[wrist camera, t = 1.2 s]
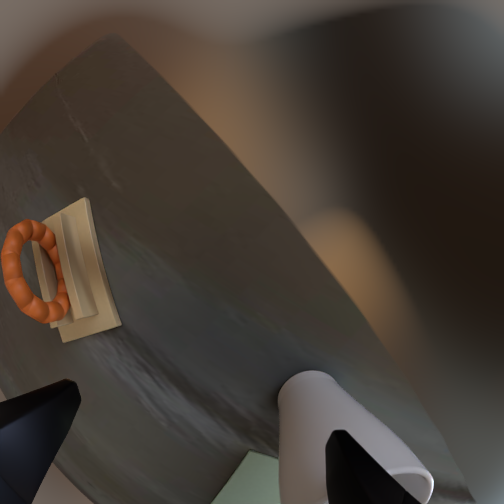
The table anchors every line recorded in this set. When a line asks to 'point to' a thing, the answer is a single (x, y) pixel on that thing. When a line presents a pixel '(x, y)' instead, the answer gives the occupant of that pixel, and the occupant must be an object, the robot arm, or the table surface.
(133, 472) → the table surface
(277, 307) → the table surface
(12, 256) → the ring
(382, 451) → the drinking glass
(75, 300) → the stand
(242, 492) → the mat
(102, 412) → the table surface
